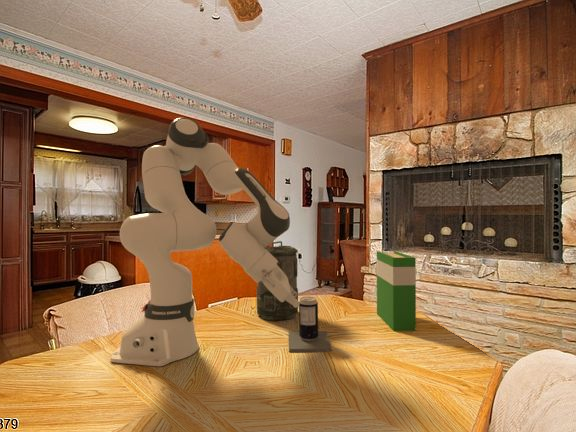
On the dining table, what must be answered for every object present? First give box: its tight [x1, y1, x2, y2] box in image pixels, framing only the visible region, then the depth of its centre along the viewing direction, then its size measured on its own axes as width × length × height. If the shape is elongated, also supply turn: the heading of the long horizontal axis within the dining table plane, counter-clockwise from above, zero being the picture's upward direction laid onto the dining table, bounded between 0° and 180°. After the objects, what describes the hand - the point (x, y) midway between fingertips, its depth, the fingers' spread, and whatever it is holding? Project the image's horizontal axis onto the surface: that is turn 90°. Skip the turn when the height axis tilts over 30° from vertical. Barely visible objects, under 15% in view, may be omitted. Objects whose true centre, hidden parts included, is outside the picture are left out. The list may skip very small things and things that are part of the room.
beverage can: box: [298, 296, 319, 341], centre depth 94 cm, size 6×6×12 cm
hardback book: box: [376, 250, 417, 332], centre depth 111 cm, size 18×7×24 cm, turn 1°
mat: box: [287, 330, 333, 353], centre depth 94 cm, size 12×13×1 cm
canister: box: [256, 240, 299, 321], centre depth 119 cm, size 16×16×28 cm
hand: (296, 300), depth 92 cm, fingers open, 8 cm apart
